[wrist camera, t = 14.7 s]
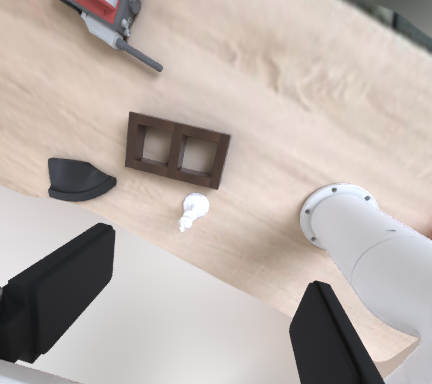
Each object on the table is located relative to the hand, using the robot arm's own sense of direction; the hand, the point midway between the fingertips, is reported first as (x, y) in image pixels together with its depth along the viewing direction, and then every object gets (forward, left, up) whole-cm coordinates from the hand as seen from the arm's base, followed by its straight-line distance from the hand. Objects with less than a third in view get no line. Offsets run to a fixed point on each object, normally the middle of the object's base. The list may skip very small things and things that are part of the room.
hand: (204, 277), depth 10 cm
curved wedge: (+29, +10, -28) cm, 42 cm away
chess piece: (+5, +8, -28) cm, 30 cm away
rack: (+10, -1, -28) cm, 30 cm away
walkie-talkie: (+23, -19, -28) cm, 41 cm away
